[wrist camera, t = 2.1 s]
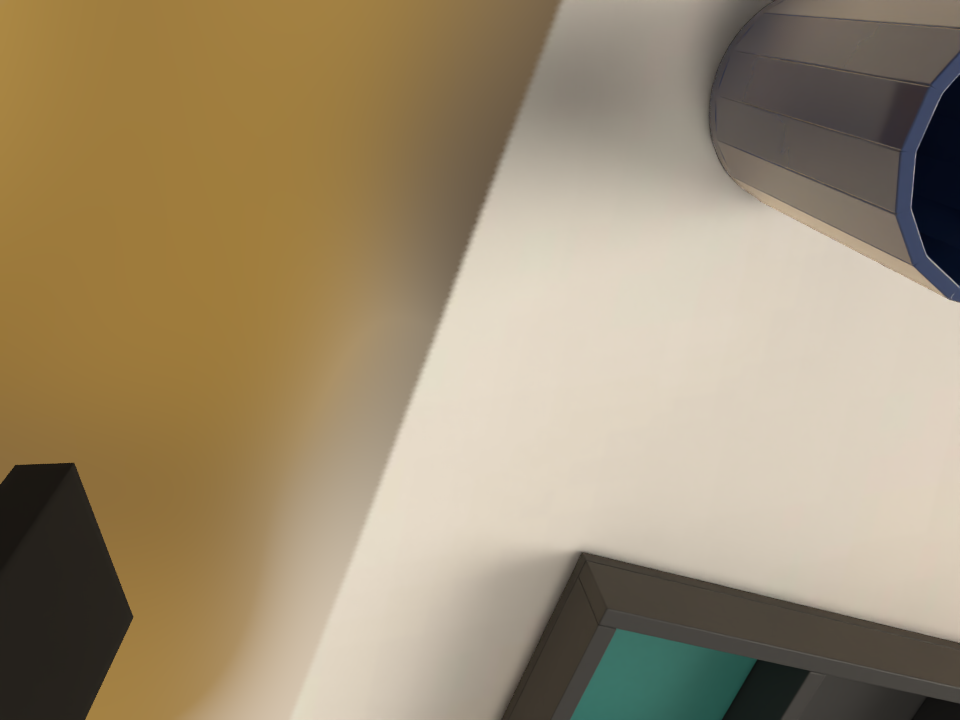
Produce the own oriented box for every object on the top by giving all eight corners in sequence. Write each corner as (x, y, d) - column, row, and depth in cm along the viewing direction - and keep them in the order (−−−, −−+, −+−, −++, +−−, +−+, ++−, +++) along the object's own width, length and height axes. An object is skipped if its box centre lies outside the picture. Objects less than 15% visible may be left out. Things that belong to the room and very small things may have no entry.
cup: (675, 58, 29) (857, 100, 19) (874, -59, 28) (1167, -80, 18) (754, 242, 32) (945, 362, 22) (934, 138, 31) (1215, 213, 21)
